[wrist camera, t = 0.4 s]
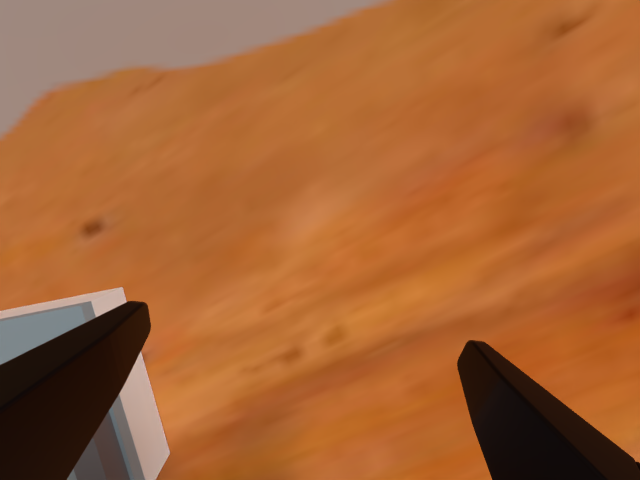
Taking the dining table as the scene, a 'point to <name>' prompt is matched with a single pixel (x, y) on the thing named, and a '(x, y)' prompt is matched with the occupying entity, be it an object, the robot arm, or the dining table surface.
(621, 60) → the dining table surface
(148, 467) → the white sliding-lid box
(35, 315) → the sliding cover
